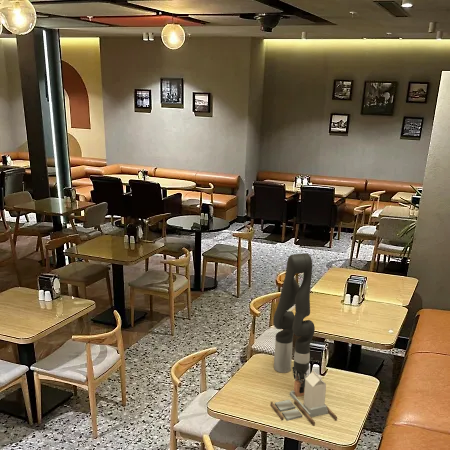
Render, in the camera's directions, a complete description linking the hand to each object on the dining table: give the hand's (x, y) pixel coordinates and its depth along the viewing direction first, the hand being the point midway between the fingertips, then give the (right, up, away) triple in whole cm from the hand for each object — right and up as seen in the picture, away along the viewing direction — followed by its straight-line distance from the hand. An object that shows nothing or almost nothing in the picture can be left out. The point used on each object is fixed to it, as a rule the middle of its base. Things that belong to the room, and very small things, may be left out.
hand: (299, 390), depth 239 cm
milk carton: (+5, -5, -11) cm, 13 cm away
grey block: (+3, -4, -7) cm, 8 cm away
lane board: (-1, -6, -14) cm, 15 cm away
